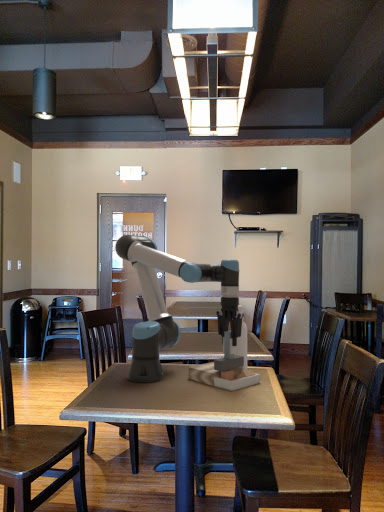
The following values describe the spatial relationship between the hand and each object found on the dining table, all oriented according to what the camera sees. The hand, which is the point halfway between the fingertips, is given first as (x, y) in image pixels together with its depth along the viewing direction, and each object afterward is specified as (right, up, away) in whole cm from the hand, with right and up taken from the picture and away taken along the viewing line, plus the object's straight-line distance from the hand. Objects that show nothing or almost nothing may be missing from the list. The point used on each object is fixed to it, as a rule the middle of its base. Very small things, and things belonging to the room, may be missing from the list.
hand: (229, 353), depth 173 cm
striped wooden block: (-5, -12, +5) cm, 14 cm away
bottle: (+6, -13, +19) cm, 24 cm away
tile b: (+6, -8, -1) cm, 10 cm away
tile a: (-2, -9, -3) cm, 10 cm away
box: (+3, -12, -4) cm, 13 cm away
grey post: (0, -6, 0) cm, 6 cm away
